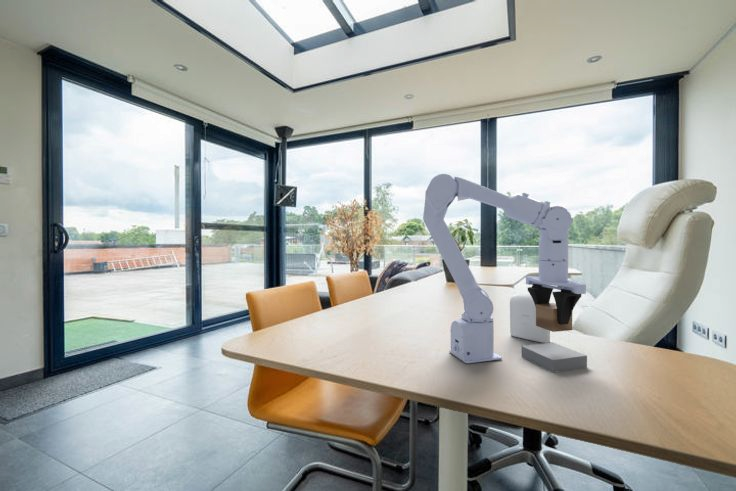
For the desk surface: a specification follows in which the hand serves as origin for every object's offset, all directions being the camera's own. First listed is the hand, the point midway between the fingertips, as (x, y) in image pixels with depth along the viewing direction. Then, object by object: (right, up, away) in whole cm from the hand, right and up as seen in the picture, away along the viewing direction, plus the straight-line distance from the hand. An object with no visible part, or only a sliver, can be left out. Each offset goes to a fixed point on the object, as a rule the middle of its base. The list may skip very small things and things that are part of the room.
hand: (552, 320), depth 71 cm
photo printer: (+3, -9, +16) cm, 19 cm away
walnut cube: (0, -2, 0) cm, 2 cm away
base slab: (0, -10, 0) cm, 10 cm away
